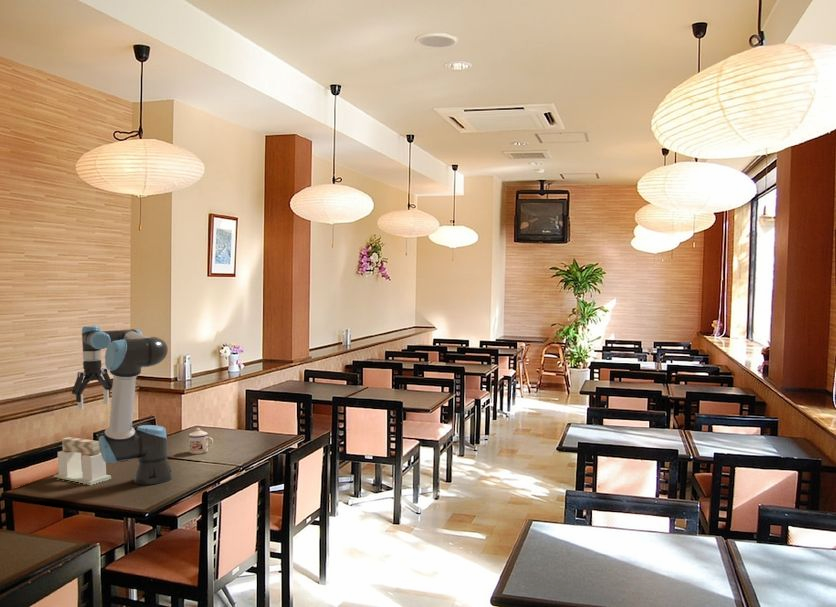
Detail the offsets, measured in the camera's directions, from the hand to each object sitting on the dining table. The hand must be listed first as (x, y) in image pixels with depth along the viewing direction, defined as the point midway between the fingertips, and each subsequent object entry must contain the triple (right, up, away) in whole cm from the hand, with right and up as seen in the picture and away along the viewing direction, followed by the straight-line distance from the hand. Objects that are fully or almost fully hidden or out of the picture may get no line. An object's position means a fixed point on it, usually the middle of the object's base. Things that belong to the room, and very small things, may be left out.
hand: (93, 406), depth 315 cm
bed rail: (+1, -21, -14) cm, 25 cm away
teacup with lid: (+40, -27, +30) cm, 56 cm away
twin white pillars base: (+1, -29, -13) cm, 32 cm away
